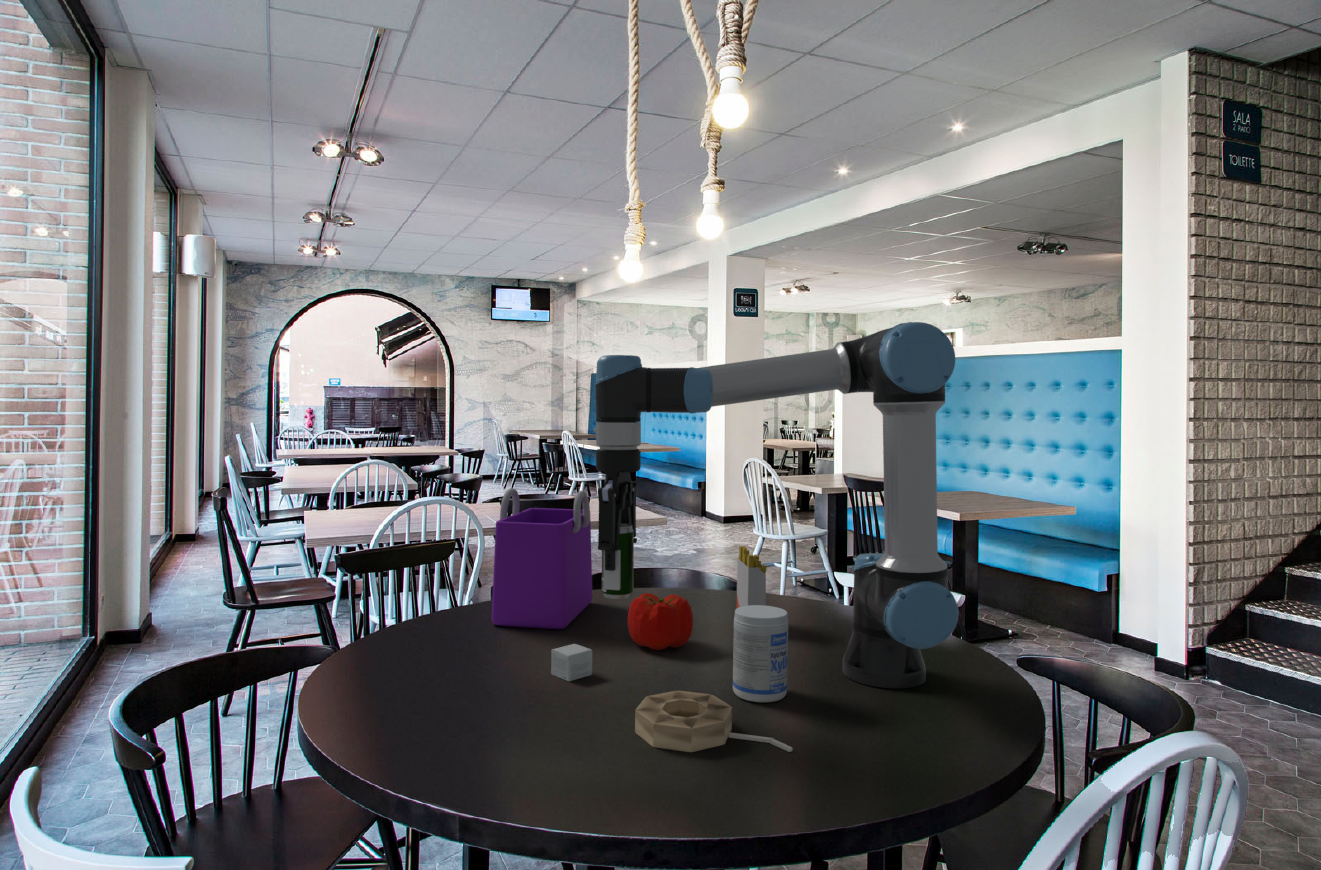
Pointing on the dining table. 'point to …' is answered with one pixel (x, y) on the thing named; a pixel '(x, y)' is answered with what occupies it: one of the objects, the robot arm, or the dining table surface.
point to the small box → (571, 662)
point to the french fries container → (750, 579)
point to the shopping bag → (541, 564)
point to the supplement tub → (760, 653)
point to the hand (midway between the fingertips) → (617, 584)
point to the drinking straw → (761, 740)
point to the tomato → (660, 621)
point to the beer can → (623, 564)
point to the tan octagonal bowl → (683, 721)
